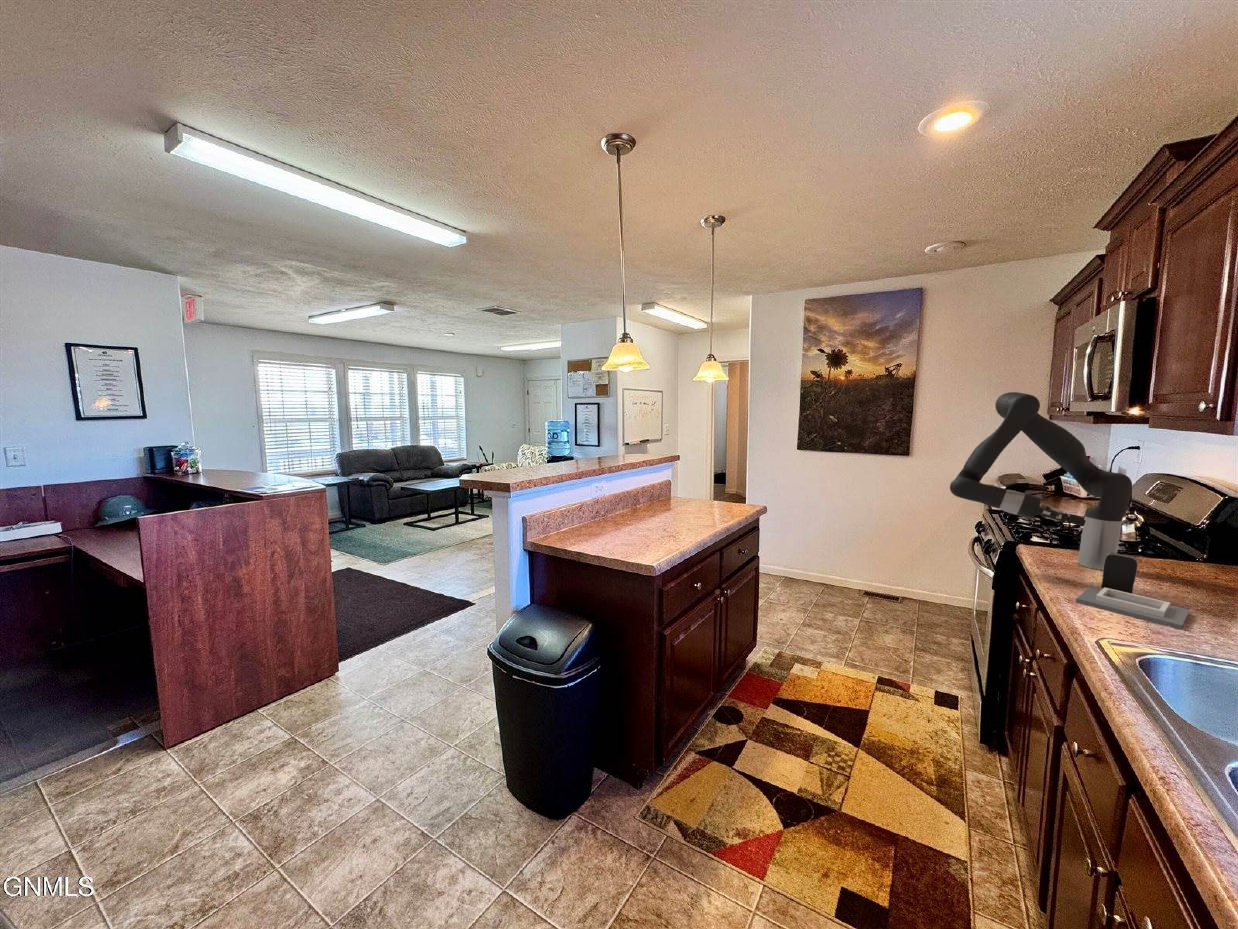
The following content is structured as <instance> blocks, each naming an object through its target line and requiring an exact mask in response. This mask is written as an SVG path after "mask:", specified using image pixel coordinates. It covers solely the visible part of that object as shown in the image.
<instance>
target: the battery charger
mask: <svg viewBox="0 0 1238 929" xmlns="http://www.w3.org/2000/svg"><path fill="white" fill-rule="evenodd" d="M1138 566H1139V562H1138V559H1137V558H1136V557H1135V556H1131V555H1126V554H1122V553H1117V554H1116V553H1110V554H1108V555H1107V556H1106V558H1105V562H1104V567H1103V570H1102V579H1101V586H1100V589H1103V588H1104V587H1105V588H1109V589H1114V590H1118V591H1122V592H1126V593H1131V594H1134V592H1133V591H1134V586H1135V582H1136V578H1137V573H1138V568H1139V567H1138Z"/></svg>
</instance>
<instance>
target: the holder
mask: <svg viewBox="0 0 1238 929" xmlns="http://www.w3.org/2000/svg"><path fill="white" fill-rule="evenodd" d="M1076 602H1077V604H1080V603H1081V605H1085V606H1089V607H1092V606H1093V607H1092V608H1095V609H1100V610H1103V609H1104V611H1107V612H1112V613H1115V614H1118V613H1119V614H1120V615H1122V616H1127V617H1130V616H1131V617H1130V618H1135V619H1139V620H1142V619H1143V621H1145V620H1146V621H1145V622H1150V623H1153V624H1158V625H1161V626H1165V627H1168V626H1170V627H1169V628H1172V627H1173V629H1176V630H1183V627H1184V626H1185V624H1186V621H1187V619H1188V618H1189V615H1190V613H1191V609H1188V608H1184V607H1179V606H1175V605H1171V602H1169V601H1164V600H1160V599H1156V598H1152V597H1148V596H1143V595H1138V594H1135V593H1133V594H1131V593H1126V592H1122V591H1118V590H1114V589H1109V588H1105V587H1104V588H1103V589H1102V588H1101V587H1100V588H1099V587H1095V586H1091V585H1090V586H1088V587H1087V588H1086V589H1085V590H1084V591H1083V592H1081V593H1080V595H1078V596H1077V597H1076V598H1075V603H1076Z"/></svg>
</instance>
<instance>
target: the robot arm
mask: <svg viewBox="0 0 1238 929" xmlns="http://www.w3.org/2000/svg"><path fill="white" fill-rule="evenodd" d="M994 407H995V411H996V412H997V414H998V415H999V416H1000V417H1001V418H1002V419H1003V421H1002V422H1001V423H1000V425H999V426H998V427H997V428H996V430H994V432H992V433H991V434H990V435H988V436H987V437H986V438H985V439H983V441H981V442H980V443H979V444H978V445H977V446H976V447H975V448H974V449H973V451H972V452H971V454H970V455H969V457H968V458H967V459H966V461H965V462H964V465H963V468H961V470H960V472H959V473H958V474H957V475H956V477H955V479H953V480H952V481H951V482H950V484H949V490H950V492H951V494H952V495H953V496H955V497H956V498H960V499H964V500H968V501H972V502H977V503H981V504H983V505H985V506H988V507H991V508H994V509H995V508H996V509H997V510H1001V511H1003V512H1006V513H1008V514H1013V515H1015V516H1016V515H1017V516H1019V517H1022V518H1026V519H1029V520H1033V519H1034V518H1035V516H1036V514H1038V515H1041V517H1042V518H1044V519H1047V520H1052V521H1055V522H1061V523H1068V524H1072V525H1075V526H1079V527H1082V532H1081V537H1080V538H1081V539H1080V545H1079V553H1078V559H1077V564H1078V565H1080V566H1082V567H1085V568H1089V569H1094V570H1099V571H1103V567H1104V562H1105V558H1106V556H1107V555H1108V554H1110V553H1116V554H1118V549H1119V544H1120V537H1121V530H1122V524H1123V519H1124V516H1125V514H1126V513H1127V511H1128V509H1129V504H1130V500H1131V496H1132V492H1133V482H1132V480H1131V478H1130V477H1129V476H1128V475H1126V474H1123V473H1119V472H1118V473H1117V472H1112V471H1106V470H1103V469H1102V468H1100V467H1098V466H1096V465H1095V464H1094V463H1093V462H1092V461H1091V460H1090V459H1089V458H1088V457H1087V452H1086V448H1085V446H1084V444H1083V443H1082V442H1081V441H1080V440H1079V439H1078V438H1077V437H1076V436H1075V435H1073V434H1072V433H1071V432H1070V431H1068V430H1067V429H1066V428H1064V427H1062V426H1061V425H1059V424H1057V423H1055V422H1054V421H1051V420H1050V419H1047V418H1046V417H1044V416H1042V414H1039V411H1040V408H1041V403H1040V400H1039V399H1038V398H1037V397H1036V396H1035V395H1032V394H1028V393H1022V392H1013V391H1012V392H1011V391H1010V392H1006V393H1003V394H1001V395H999V397H998V398H997V399H996V400H995V406H994ZM1020 432H1023V433H1024V435H1025V436H1026V437H1027V438H1028V439H1030V441H1031V442H1033V443H1034V444H1035V446H1037V447H1038V448H1039V449H1040V450H1041V451H1042V452H1043V453H1044V454H1045V455H1047V456H1048V457H1049V459H1051V460H1052V461H1054V462H1055V463H1056V464H1057V465H1058V466H1060V467H1061V468H1062V469H1063V470H1065V472H1067V473H1068V475H1070V476H1071V477H1072V478H1073V480H1075V482H1077V484H1078V485H1079V486H1080V487H1081V488H1082V489H1083V490H1084V492H1086V493H1087V494H1088V495H1090V496H1093V497H1096V498H1099V501H1098V504H1097V505H1095V506H1090V507H1087V508H1086V509H1085V513H1084V518H1083V517H1081V516H1078V515H1076V514H1075V515H1074V514H1071V513H1067V511H1063V510H1062V509H1060V508H1056V507H1054V506H1051V505H1041V503H1042V498H1041V497H1038V496H1035V495H1032V494H1027V493H1024V492H1020V491H1016V490H1012V489H1007V488H1003V487H999V486H996V485H988V484H985V483H982V482H981V481H982V479H983V477H984V476H985V475H986V474H987V473H989V472H988V471H989V470H990V469H991V467H992V466H993V465H994V463H995V462H996V460H997V459H998V458H999V456H1000V455H1001V454H1002V452H1003V451H1004V450H1005V449H1006V448H1007V446H1008V445H1009V444H1010V443H1011V442H1012V441H1013V440H1014V439H1015V438H1016V437H1017V436H1018V434H1020Z"/></svg>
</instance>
